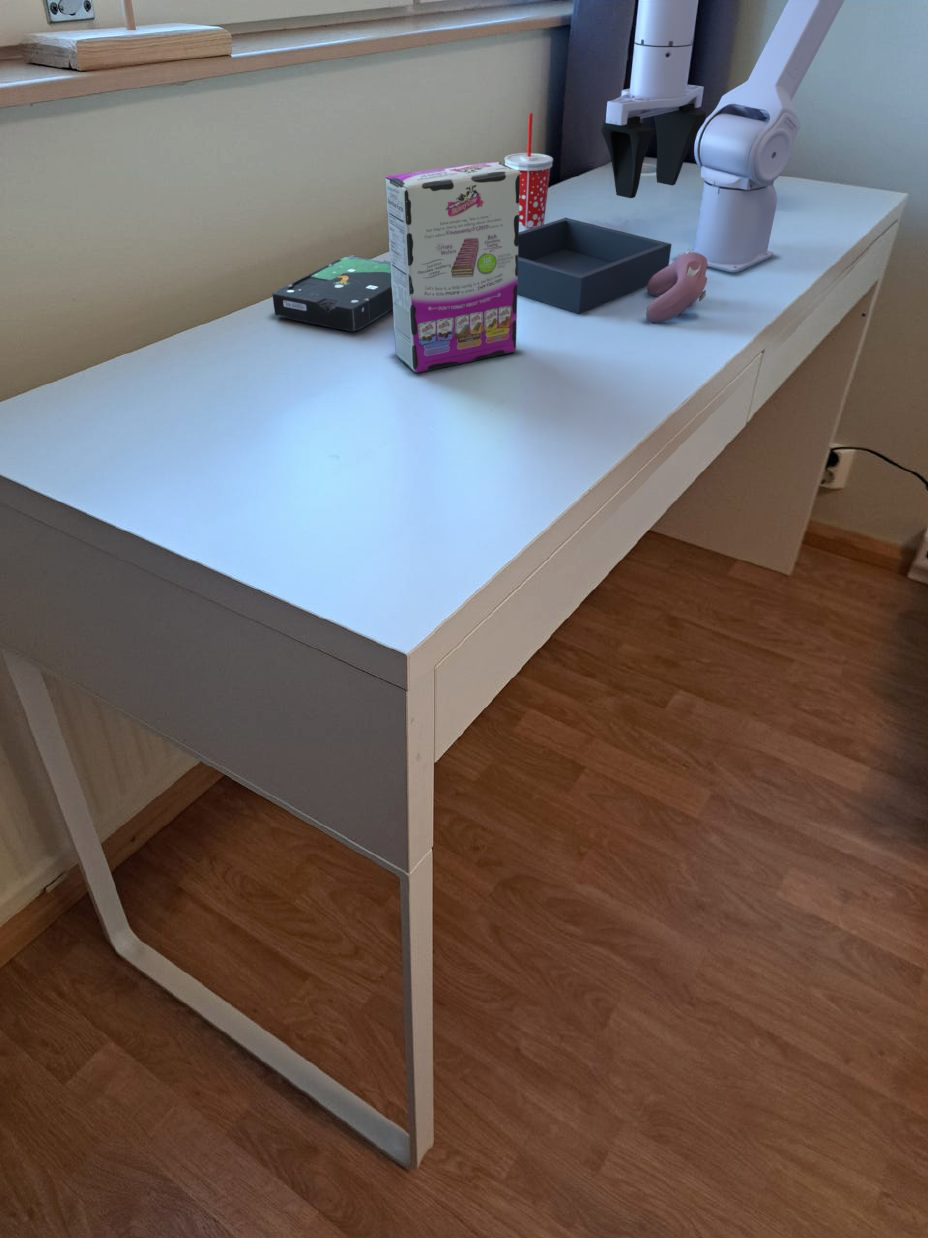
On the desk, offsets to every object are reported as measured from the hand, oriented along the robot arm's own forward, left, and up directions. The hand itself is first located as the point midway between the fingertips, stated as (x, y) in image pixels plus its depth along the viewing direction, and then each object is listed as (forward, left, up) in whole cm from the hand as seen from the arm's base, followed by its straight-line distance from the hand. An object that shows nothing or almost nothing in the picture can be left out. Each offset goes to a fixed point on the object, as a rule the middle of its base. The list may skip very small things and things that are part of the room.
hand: (646, 189), depth 100 cm
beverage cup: (-6, -22, -10) cm, 25 cm away
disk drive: (+28, -18, -10) cm, 35 cm away
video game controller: (+5, +8, -10) cm, 14 cm away
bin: (+5, -6, -10) cm, 12 cm away
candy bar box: (+30, 0, -10) cm, 32 cm away
